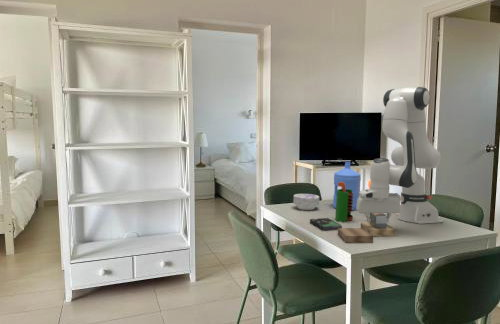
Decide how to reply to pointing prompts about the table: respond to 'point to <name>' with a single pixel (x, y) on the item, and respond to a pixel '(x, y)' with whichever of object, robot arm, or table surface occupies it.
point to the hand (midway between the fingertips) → (377, 222)
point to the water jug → (348, 183)
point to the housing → (378, 220)
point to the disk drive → (325, 224)
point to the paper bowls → (306, 201)
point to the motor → (344, 204)
